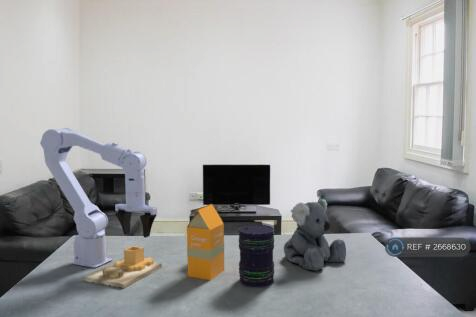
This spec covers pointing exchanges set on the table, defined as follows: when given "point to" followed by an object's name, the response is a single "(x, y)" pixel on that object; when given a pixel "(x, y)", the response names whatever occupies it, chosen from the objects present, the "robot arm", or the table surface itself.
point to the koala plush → (312, 238)
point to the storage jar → (256, 255)
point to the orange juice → (205, 244)
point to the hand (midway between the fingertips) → (136, 235)
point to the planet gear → (134, 259)
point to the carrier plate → (120, 275)
